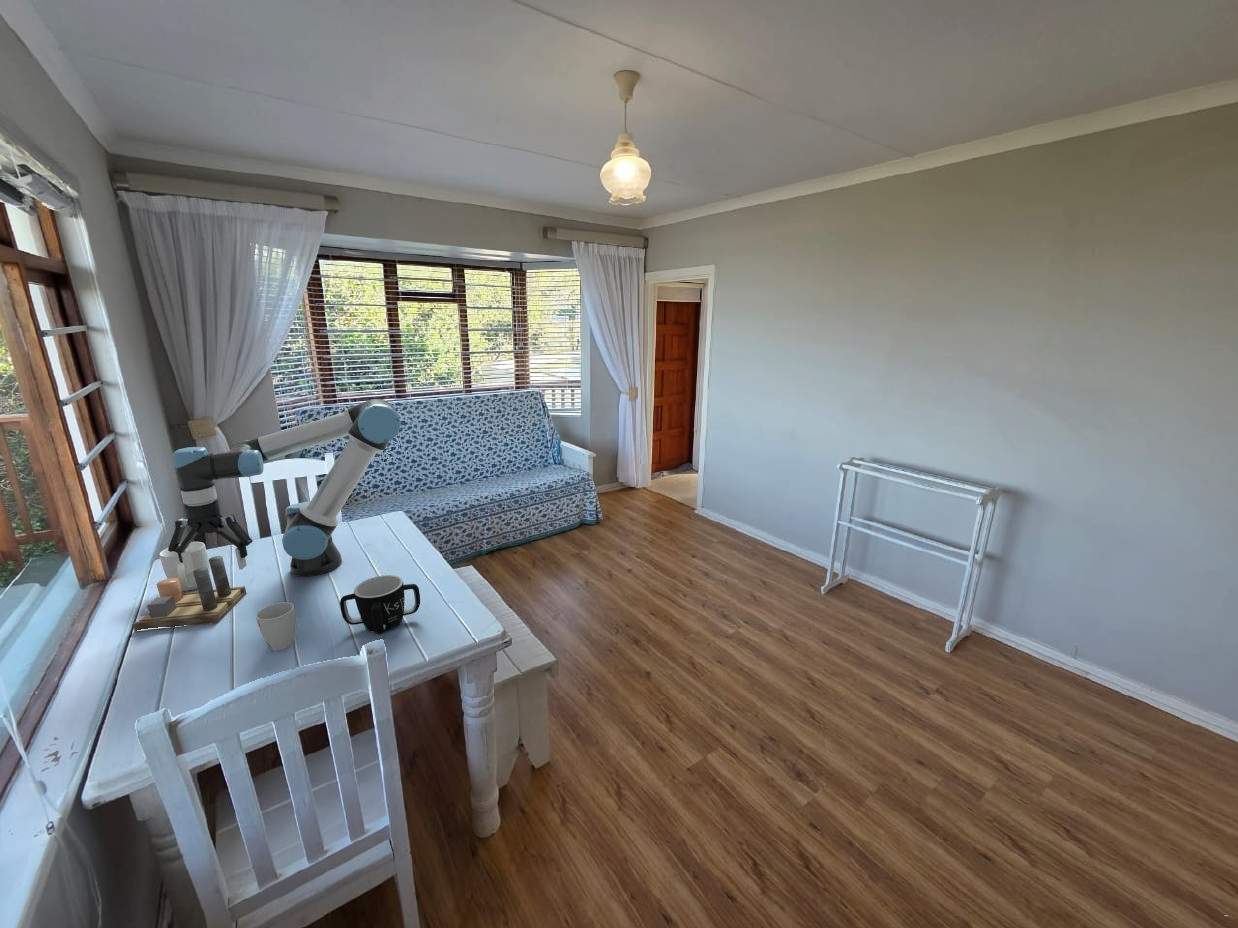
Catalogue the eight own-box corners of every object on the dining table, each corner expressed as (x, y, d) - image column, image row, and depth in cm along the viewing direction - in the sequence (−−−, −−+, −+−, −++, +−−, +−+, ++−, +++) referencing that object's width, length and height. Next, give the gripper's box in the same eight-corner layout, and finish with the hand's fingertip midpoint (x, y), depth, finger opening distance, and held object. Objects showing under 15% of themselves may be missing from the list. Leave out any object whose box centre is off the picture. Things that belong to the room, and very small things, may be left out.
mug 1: (211, 593, 154) (201, 555, 151) (164, 604, 149) (152, 565, 145) (215, 574, 166) (206, 538, 163) (172, 583, 161) (162, 546, 157)
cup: (275, 635, 133) (267, 602, 130) (306, 634, 134) (300, 601, 131) (256, 655, 125) (248, 620, 123) (290, 653, 126) (282, 618, 123)
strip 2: (241, 593, 152) (231, 553, 149) (232, 601, 148) (222, 560, 144) (169, 600, 149) (157, 560, 145) (158, 609, 144) (146, 567, 140)
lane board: (246, 593, 154) (244, 586, 154) (218, 622, 139) (216, 614, 139) (172, 601, 150) (170, 593, 150) (134, 631, 135) (132, 623, 135)
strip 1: (228, 606, 145) (217, 564, 142) (218, 615, 141) (207, 573, 137) (152, 614, 142) (139, 572, 138) (140, 624, 137) (126, 580, 133)
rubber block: (176, 608, 142) (173, 595, 141) (167, 616, 138) (163, 603, 137) (160, 610, 141) (156, 597, 140) (150, 617, 137) (146, 605, 136)
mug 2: (374, 649, 127) (367, 607, 124) (339, 629, 136) (332, 590, 132) (428, 618, 141) (423, 580, 137) (393, 602, 149) (388, 566, 146)
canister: (187, 594, 149) (182, 576, 147) (177, 603, 145) (171, 584, 143) (168, 596, 148) (163, 578, 146) (157, 605, 144) (152, 586, 142)
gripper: (256, 494, 147) (270, 560, 153) (158, 500, 142) (176, 567, 148) (244, 503, 140) (258, 571, 146) (140, 509, 135) (159, 579, 141)
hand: (217, 569), depth 147 cm, fingers open, 13 cm apart
